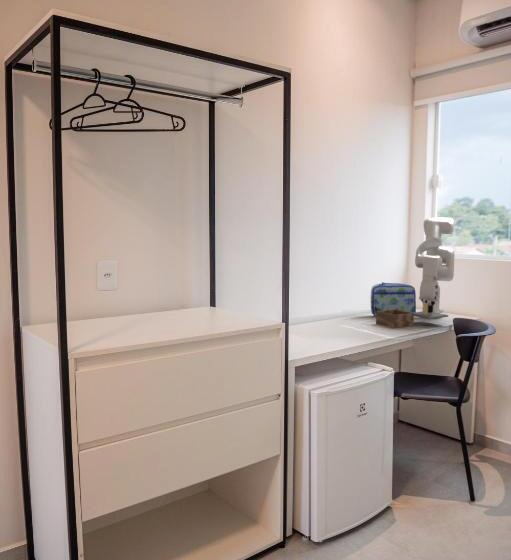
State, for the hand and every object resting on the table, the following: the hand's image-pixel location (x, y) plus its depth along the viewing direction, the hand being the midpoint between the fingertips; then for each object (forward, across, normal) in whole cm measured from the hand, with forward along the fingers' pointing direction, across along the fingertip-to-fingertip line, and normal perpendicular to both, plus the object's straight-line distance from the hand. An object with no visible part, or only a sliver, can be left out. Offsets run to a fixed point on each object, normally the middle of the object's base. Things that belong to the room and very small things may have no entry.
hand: (428, 311), depth 288 cm
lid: (+2, 0, 0) cm, 2 cm away
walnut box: (+8, +8, +17) cm, 20 cm away
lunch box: (+8, +28, -2) cm, 29 cm away
